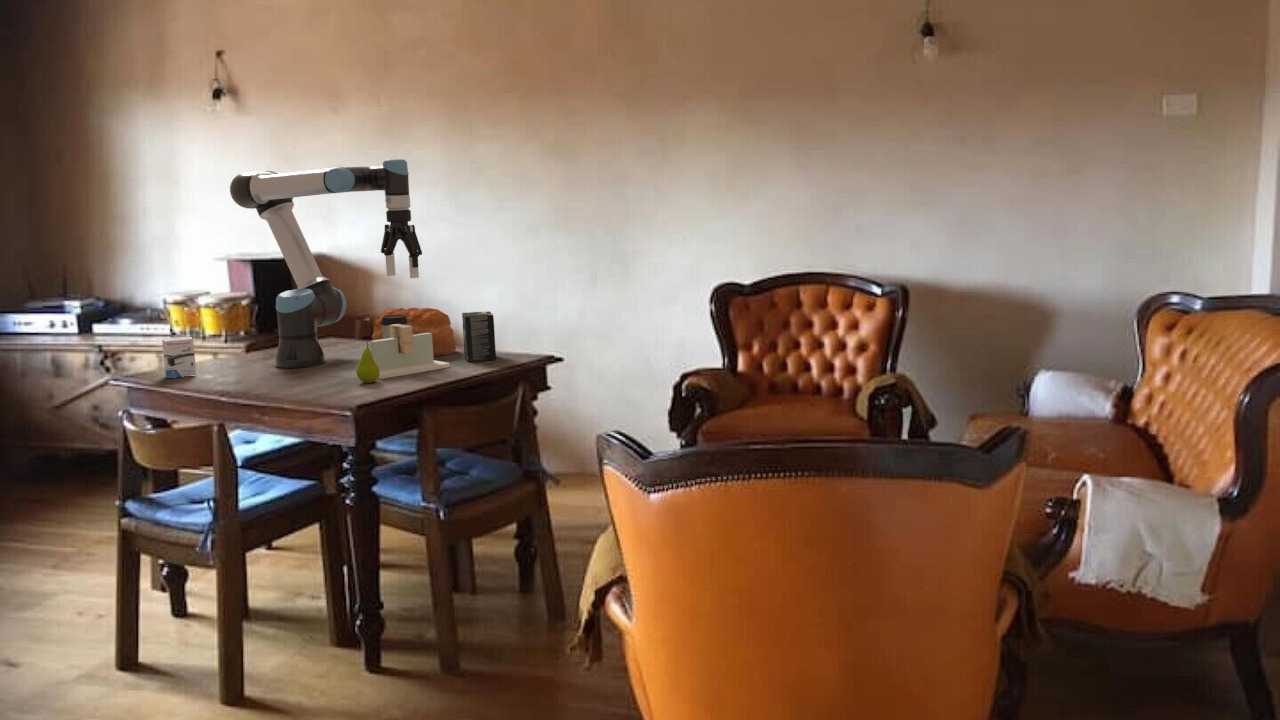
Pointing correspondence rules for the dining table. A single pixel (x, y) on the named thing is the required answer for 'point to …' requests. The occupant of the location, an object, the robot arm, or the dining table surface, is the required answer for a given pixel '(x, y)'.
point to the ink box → (179, 357)
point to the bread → (424, 327)
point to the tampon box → (479, 336)
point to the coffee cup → (391, 323)
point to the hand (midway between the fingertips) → (402, 276)
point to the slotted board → (405, 356)
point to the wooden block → (403, 337)
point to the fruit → (367, 367)
